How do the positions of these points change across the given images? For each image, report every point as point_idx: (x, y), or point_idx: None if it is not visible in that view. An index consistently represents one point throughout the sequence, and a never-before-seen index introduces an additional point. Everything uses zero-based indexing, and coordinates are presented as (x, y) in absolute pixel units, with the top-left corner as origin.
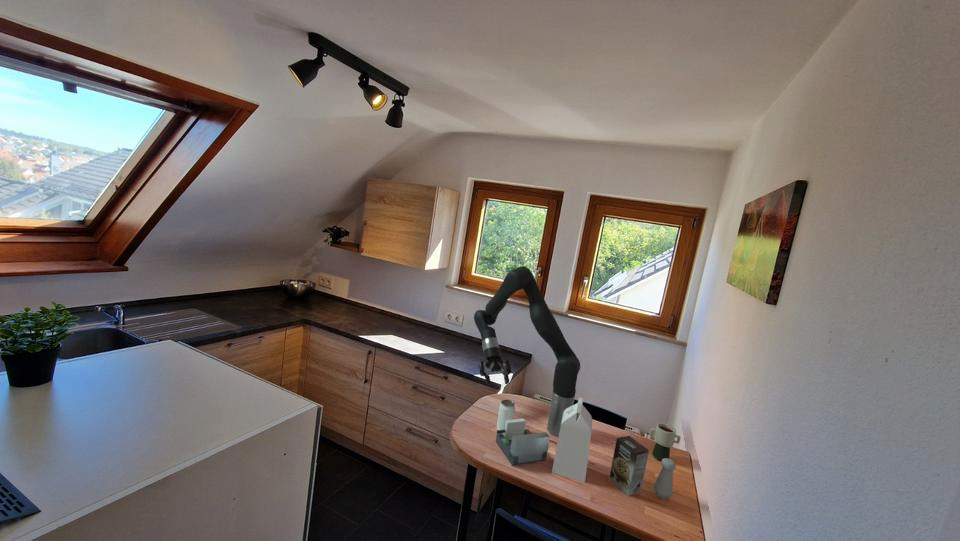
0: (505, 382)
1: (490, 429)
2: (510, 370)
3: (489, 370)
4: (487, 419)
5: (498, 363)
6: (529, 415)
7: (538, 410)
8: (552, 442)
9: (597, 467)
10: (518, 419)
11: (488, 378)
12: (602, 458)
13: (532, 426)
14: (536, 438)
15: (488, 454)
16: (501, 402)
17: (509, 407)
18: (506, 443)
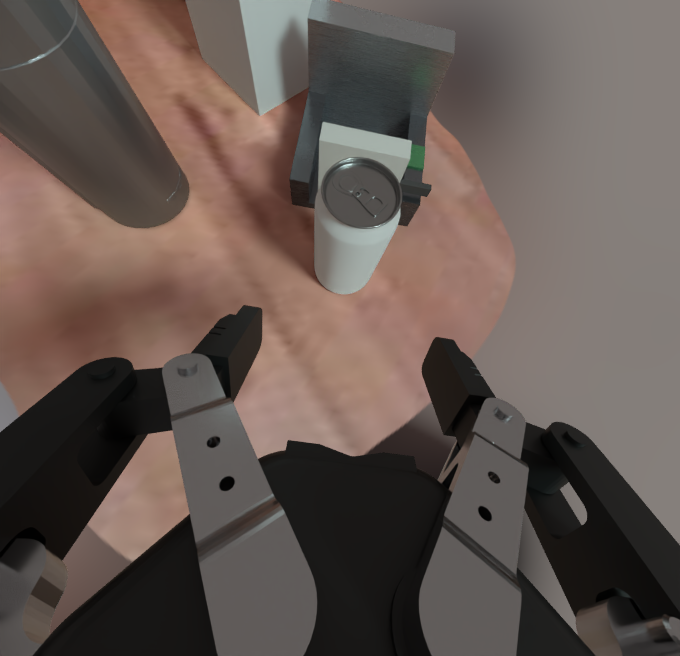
0: (257, 345)
1: (390, 288)
2: (79, 385)
3: (497, 445)
4: (367, 351)
5: (280, 577)
6: (169, 318)
7: (89, 341)
8: (225, 155)
9: (190, 35)
10: (347, 141)
11: (471, 371)
12: (136, 48)
13: (221, 249)
14: (371, 11)
15: (455, 188)
16: (397, 209)
17: (372, 166)
18: (419, 146)
